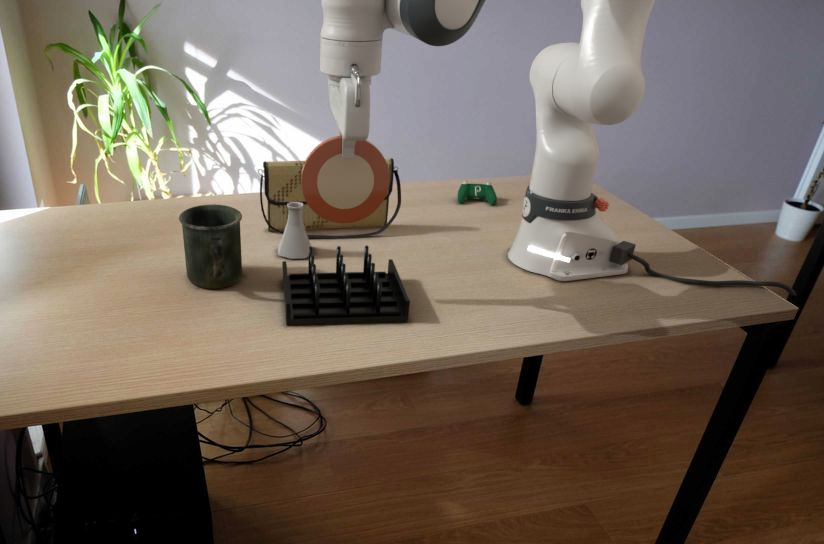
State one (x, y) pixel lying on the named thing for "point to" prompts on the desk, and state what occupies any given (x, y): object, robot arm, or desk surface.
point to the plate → (344, 181)
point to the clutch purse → (286, 188)
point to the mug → (212, 245)
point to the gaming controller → (477, 192)
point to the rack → (344, 295)
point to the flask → (294, 234)
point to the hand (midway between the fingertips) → (346, 154)
